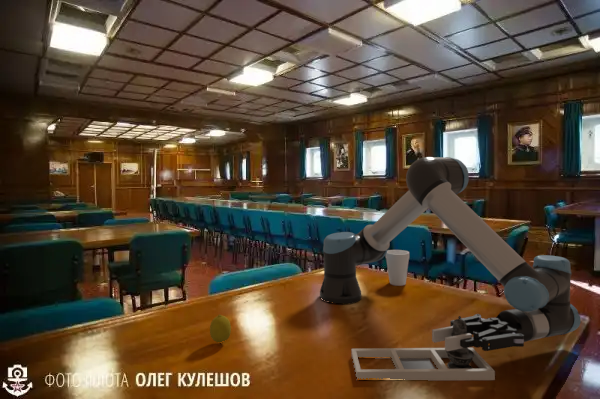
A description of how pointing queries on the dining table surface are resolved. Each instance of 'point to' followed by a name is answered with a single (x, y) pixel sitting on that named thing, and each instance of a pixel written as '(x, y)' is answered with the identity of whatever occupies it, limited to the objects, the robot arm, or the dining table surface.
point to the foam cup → (397, 266)
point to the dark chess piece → (459, 356)
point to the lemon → (220, 328)
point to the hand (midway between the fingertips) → (439, 340)
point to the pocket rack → (420, 365)
